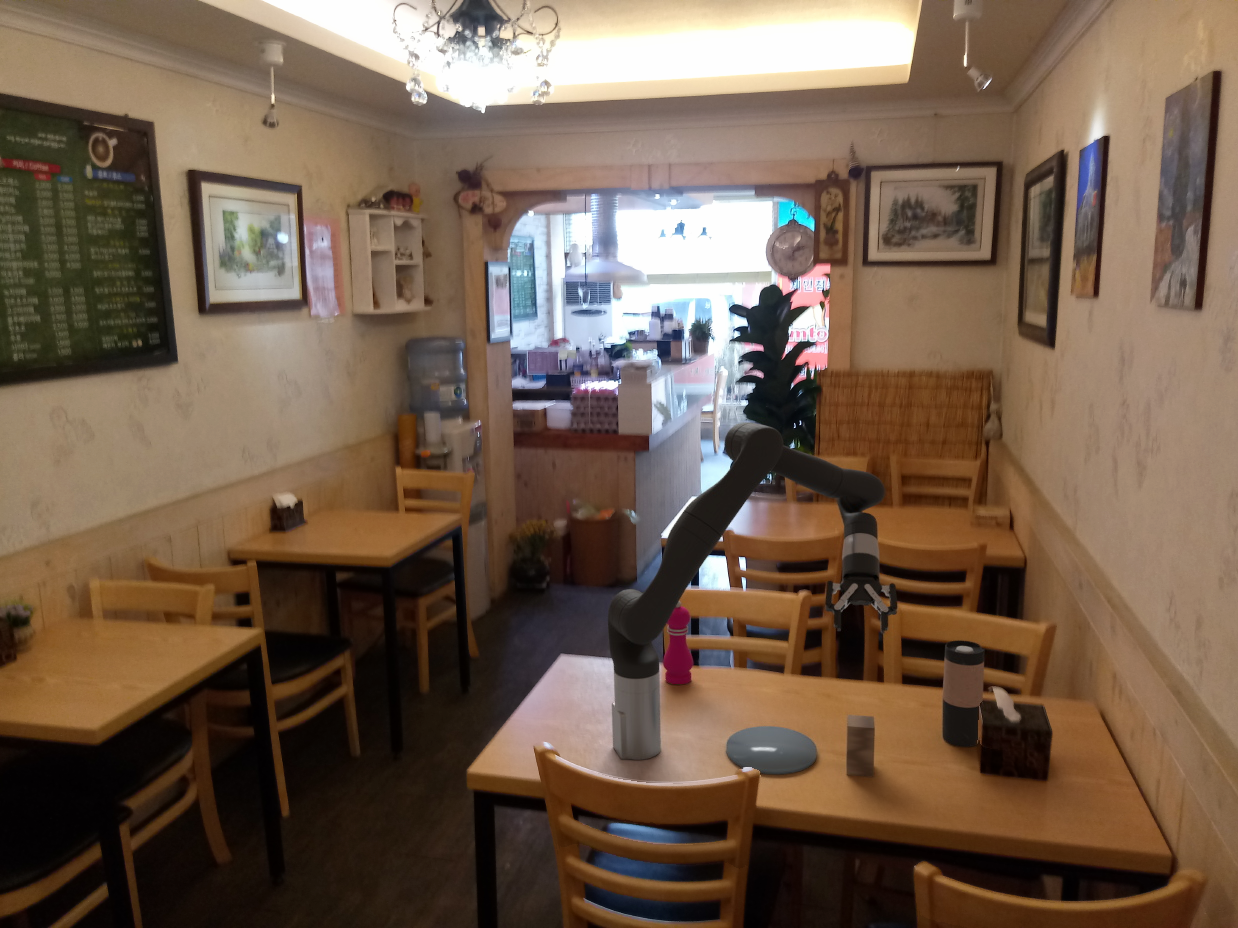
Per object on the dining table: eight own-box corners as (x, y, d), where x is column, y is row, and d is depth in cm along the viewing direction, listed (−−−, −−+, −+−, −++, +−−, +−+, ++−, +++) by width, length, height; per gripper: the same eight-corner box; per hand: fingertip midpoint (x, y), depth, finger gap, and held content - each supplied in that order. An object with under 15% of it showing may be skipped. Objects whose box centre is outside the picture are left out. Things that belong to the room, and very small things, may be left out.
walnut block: (846, 774, 179) (847, 725, 177) (846, 761, 183) (847, 714, 182) (873, 776, 178) (874, 728, 176) (872, 764, 182) (873, 716, 181)
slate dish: (749, 780, 177) (749, 775, 177) (712, 739, 194) (712, 733, 194) (833, 765, 182) (833, 759, 182) (790, 725, 199) (790, 720, 199)
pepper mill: (691, 686, 220) (690, 606, 217) (661, 684, 222) (659, 604, 218) (695, 674, 227) (694, 596, 224) (665, 672, 229) (664, 594, 225)
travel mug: (934, 739, 191) (938, 647, 188) (950, 726, 197) (954, 637, 193) (971, 751, 186) (975, 656, 183) (986, 737, 192) (991, 645, 188)
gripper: (826, 549, 195) (824, 620, 186) (896, 552, 192) (898, 624, 183) (826, 567, 201) (824, 636, 192) (894, 569, 198) (896, 640, 189)
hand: (861, 630), depth 187 cm, fingers open, 8 cm apart
